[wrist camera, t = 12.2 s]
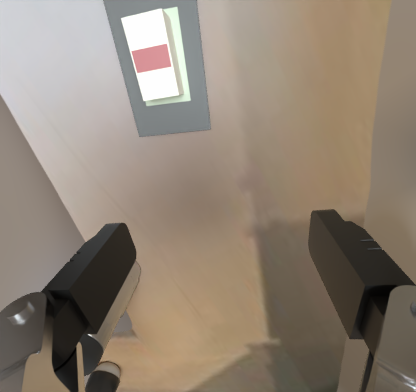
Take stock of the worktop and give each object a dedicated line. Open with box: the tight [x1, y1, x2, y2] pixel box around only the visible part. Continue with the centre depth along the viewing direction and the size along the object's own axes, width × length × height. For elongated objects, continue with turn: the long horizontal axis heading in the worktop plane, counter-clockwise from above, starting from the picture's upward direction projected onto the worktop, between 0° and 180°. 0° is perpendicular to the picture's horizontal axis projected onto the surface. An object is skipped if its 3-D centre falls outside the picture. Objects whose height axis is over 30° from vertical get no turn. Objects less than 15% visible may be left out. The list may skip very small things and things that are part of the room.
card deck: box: [121, 8, 185, 101], centre depth 28 cm, size 5×9×4 cm, turn 9°
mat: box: [103, 0, 211, 137], centre depth 30 cm, size 20×12×1 cm, turn 7°
